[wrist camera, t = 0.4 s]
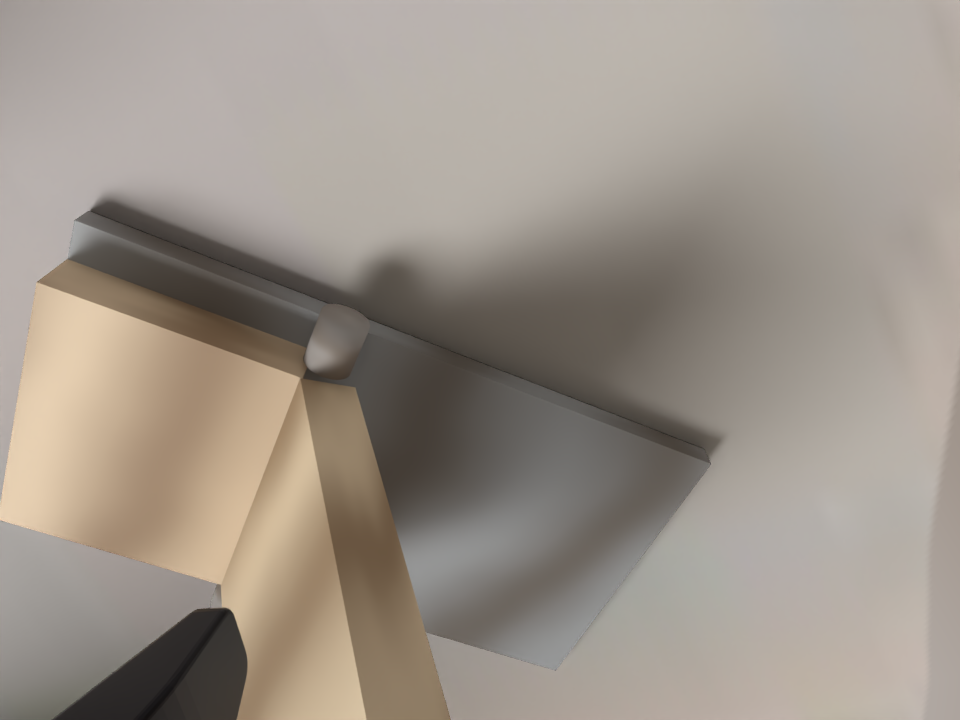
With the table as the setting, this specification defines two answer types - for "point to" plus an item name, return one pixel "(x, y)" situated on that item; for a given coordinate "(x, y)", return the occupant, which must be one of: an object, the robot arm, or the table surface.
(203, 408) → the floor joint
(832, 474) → the table surface
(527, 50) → the table surface
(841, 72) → the table surface
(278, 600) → the click plank
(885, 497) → the table surface
